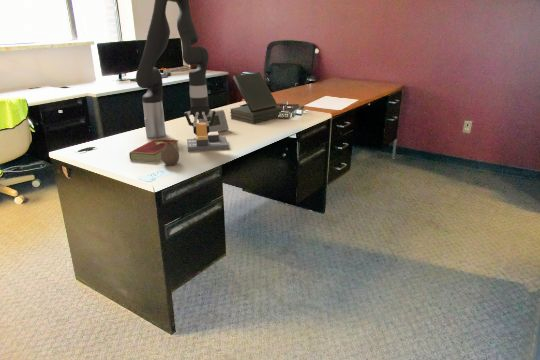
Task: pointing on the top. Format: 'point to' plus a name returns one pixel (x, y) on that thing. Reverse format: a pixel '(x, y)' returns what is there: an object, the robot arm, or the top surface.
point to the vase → (170, 154)
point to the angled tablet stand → (255, 100)
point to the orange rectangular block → (201, 129)
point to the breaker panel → (211, 145)
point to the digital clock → (217, 122)
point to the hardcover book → (151, 150)
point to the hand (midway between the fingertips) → (201, 134)
